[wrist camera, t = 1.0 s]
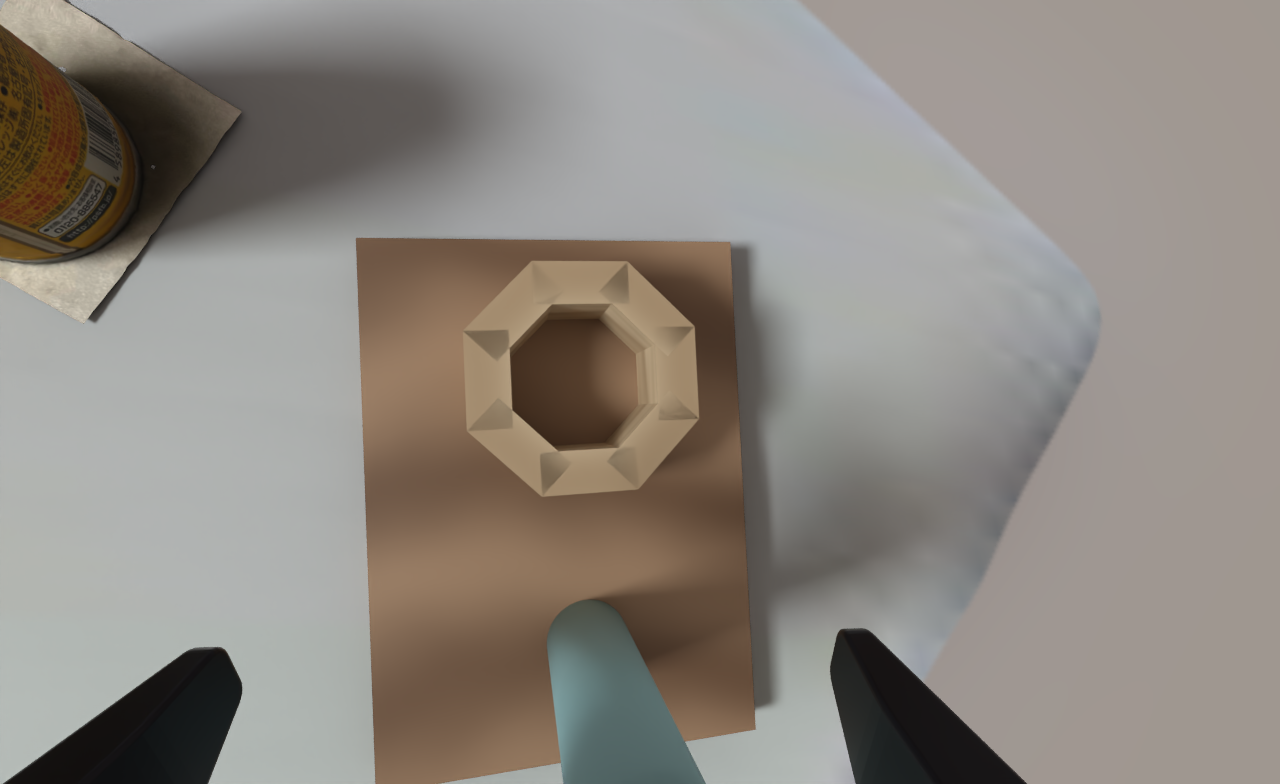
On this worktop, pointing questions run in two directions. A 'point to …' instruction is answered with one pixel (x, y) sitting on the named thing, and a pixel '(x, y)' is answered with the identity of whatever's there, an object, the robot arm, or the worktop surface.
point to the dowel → (610, 704)
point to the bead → (634, 320)
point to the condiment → (89, 151)
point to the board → (538, 510)
